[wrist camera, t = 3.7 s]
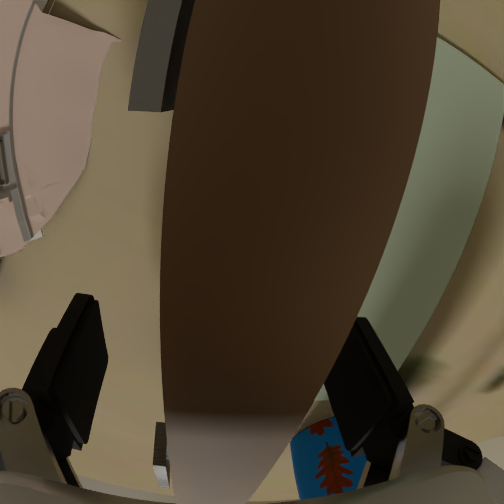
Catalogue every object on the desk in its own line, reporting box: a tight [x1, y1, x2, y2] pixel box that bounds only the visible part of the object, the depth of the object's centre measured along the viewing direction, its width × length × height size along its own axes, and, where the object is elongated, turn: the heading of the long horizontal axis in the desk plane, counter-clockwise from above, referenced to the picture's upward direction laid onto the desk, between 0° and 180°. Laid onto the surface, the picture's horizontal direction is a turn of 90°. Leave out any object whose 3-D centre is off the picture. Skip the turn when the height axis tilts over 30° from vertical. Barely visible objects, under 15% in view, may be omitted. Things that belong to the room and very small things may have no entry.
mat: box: [314, 37, 504, 401], centre depth 19 cm, size 10×30×1 cm, turn 170°
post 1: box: [128, 0, 195, 112], centre depth 8 cm, size 6×6×10 cm
